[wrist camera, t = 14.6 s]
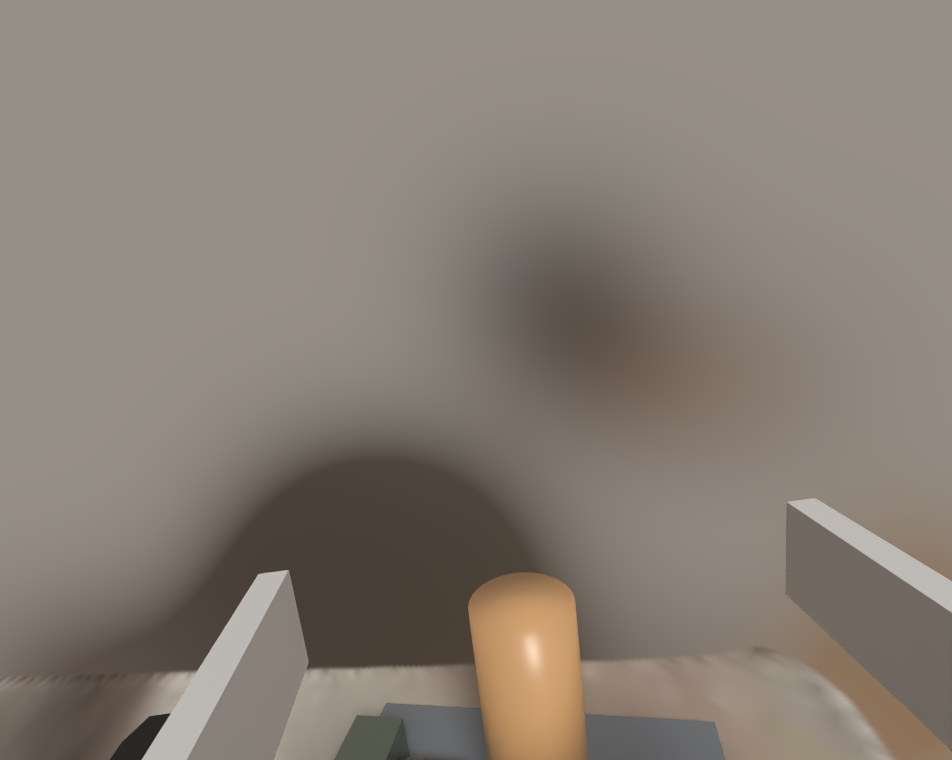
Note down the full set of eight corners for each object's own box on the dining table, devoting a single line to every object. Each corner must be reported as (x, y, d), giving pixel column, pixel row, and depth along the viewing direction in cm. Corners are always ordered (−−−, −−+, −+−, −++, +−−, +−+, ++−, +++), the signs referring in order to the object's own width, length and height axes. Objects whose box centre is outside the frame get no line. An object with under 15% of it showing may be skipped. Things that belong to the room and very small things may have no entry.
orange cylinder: (487, 868, 25) (456, 635, 23) (504, 770, 30) (480, 571, 28) (594, 886, 24) (572, 642, 22) (594, 781, 29) (576, 573, 27)
